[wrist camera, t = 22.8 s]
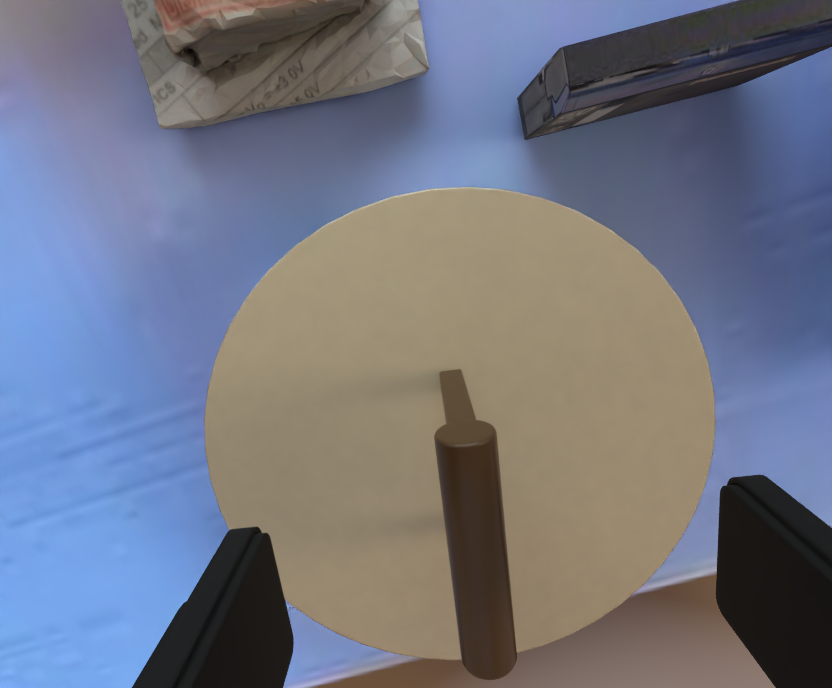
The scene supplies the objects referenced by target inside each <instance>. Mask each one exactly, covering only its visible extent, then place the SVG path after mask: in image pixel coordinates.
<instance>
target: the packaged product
mask: <svg viewBox="0 0 832 688" xmlns="http://www.w3.org/2000/svg"><path fill="white" fill-rule="evenodd" d="M121 2H122V6H123V9H124V12H125V15H126V18H127V21H128V24H129V27H130V31H131V35H132V38H133V42H134V45H135V48H136V50H137V53H138V56H139V59H140V64H141V68H142V72H143V74H144V76H145V79H146V81H147V84H148V87H149V91H150V94H151V97H152V100H153V104H154V108H155V113H156V116H157V120H158V123H159V125H160V127H161V129H184V128H192V127H201V126H209V125H213V124H217V123H221V122H225V121H229V120H233V119H237V118H241V117H245V116H249V115H253V114H257V113H262V112H266V111H270V110H275V109H281V108H286V107H291V106H296V105H302V104H307V103H312V102H317V101H322V100H328V99H333V98H338V97H343V96H348V95H354V94H359V93H364V92H369V91H373V90H376V89H379V88H383V87H386V86H389V85H392V84H396V83H399V82H402V81H405V80H409V79H412V78H415V77H418V76H422V75H425V74H426V72H427V71H428V69H429V64H428V59H427V53H426V47H425V41H424V35H423V30H422V24H421V18H420V11H419V5H418V0H121Z"/></svg>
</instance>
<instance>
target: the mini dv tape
mask: <svg viewBox="0 0 832 688" xmlns="http://www.w3.org/2000/svg"><path fill="white" fill-rule="evenodd" d="M829 47H832V0H738V1H735V2H731V3H727V4H723V5H720V6H716V7H712V8H708V9H704V10H701V11H697V12H693V13H689V14H685V15H682V16H678V17H674V18H670V19H666V20H663V21H659V22H655V23H651V24H648V25H644V26H640V27H636V28H632V29H629V30H625V31H621V32H617V33H613V34H610V35H606V36H602V37H598V38H594V39H591V40H587V41H583V42H579V43H576V44H572V45H568V46H564V47H561V48H560V49H559V50H558V51H557V52H556V53H555V54H554V56H553V57H552V58H551V59H550V60H549V61H548V63H547V64H546V65H545V66H544V67H543V69H542V70H541V71H540V72H539V73H538V74H537V76H536V77H535V78H534V79H533V80H532V81H531V83H530V84H529V85H528V86H527V87H526V89H525V90H524V91H523V92H522V93H521V94H520V96H519V97H518V98H517V99H518V104H519V110H520V116H521V121H522V127H523V133H524V138H525V140H527V139H531V138H535V137H539V136H543V135H547V134H550V133H554V132H558V131H562V130H566V129H570V128H574V127H578V126H582V125H586V124H590V123H594V122H598V121H602V120H605V119H609V118H613V117H617V116H621V115H625V114H629V113H633V112H637V111H641V110H645V109H649V108H653V107H657V106H660V105H664V104H668V103H672V102H676V101H680V100H684V99H688V98H692V97H696V96H700V95H704V94H708V93H712V92H715V91H719V90H723V89H727V88H731V87H735V86H738V85H741V84H743V83H746V82H748V81H750V80H753V79H755V78H758V77H760V76H762V75H765V74H767V73H770V72H772V71H774V70H777V69H779V68H782V67H784V66H786V65H789V64H791V63H794V62H796V61H798V60H801V59H803V58H806V57H808V56H810V55H813V54H815V53H817V52H820V51H822V50H825V49H827V48H829Z"/></svg>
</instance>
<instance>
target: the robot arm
mask: <svg viewBox="0 0 832 688" xmlns="http://www.w3.org/2000/svg"><path fill="white" fill-rule="evenodd" d="M716 599H717V604H718V606H719V609H720V611H721V613H722V615H723V616H724V618H725V619H726V621H727V622H728V623H729V625H730V626H731V627H732V629H733V630H734V631H735V633H736V634H737V636H738V637H739V638H740V640H741V641H742V642H743V644H744V645H745V646H746V648H747V649H748V650H749V652H750V653H751V655H752V656H753V657H754V659H755V660H756V661H757V663H758V664H759V665H760V667H761V668H762V670H763V671H764V672H765V674H766V675H767V676H768V678H769V679H770V680H771V682H772V683H773V685H774V686H775V687H776V688H832V528H831V527H830V526H828V525H827V524H826V523H825V522H823V521H822V520H821V519H819V518H818V517H817V516H816V515H814V514H813V513H812V512H811V511H809V510H808V509H807V508H805V507H804V506H803V505H802V504H800V503H799V502H798V501H797V500H795V499H794V498H793V497H791V496H790V495H789V494H788V493H786V492H785V491H784V490H783V489H781V488H780V487H779V486H778V485H776V484H775V483H774V482H772V481H771V480H770V479H769V478H767V477H766V476H764V475H752V476H743V477H733V478H731V479H729V481H728V484H727V486H723V487H722V488H721V491H720V507H719V531H718V556H717V581H716ZM292 653H293V633H292V629H291V624H290V620H289V616H288V611H287V607H286V603H285V598H284V594H283V590H282V585H281V581H280V577H279V572H278V568H277V564H276V559H275V555H274V551H273V546H272V542H271V538H270V535H269V534H268V533H262V532H261V530H260V528H259V527H257V526H256V527H247V528H237V529H231V530H229V531H228V533H227V534H226V536H225V538H224V539H223V541H222V543H221V544H220V546H219V548H218V549H217V551H216V553H215V555H214V556H213V558H212V560H211V561H210V563H209V565H208V566H207V568H206V570H205V571H204V573H203V575H202V577H201V578H200V580H199V582H198V583H197V585H196V587H195V588H194V590H193V592H192V594H191V595H190V597H189V599H188V600H187V602H185V603H183V605H182V606H181V607H180V609H179V610H178V611H177V613H176V615H175V617H174V618H173V620H172V622H171V623H170V625H169V627H168V628H167V630H166V632H165V633H164V635H163V637H162V638H161V640H160V642H159V643H158V645H157V647H156V648H155V650H154V652H153V653H152V655H151V657H150V658H149V660H148V662H147V663H146V665H145V667H144V668H143V670H142V672H141V673H140V675H139V677H138V678H137V680H136V682H135V683H134V685H133V687H132V688H283V685H284V682H285V678H286V675H287V671H288V668H289V664H290V661H291V657H292Z"/></svg>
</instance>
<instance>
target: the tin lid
mask: <svg viewBox="0 0 832 688" xmlns="http://www.w3.org/2000/svg"><path fill="white" fill-rule="evenodd" d="M204 420H205V451H206V457H207V463H208V469H209V474H210V480H211V484H212V487H213V490H214V493H215V496H216V499H217V502H218V505H219V509H220V511H221V513H222V515H223V517H224V519H225V521H226V524H227V526H228V528H229V530H231V529H237V528H247V527H256V526H257V527H259V528H260V530H261V532H262V533H268V534H269V535H270V538H271V542H272V546H273V551H274V555H275V559H276V564H277V568H278V572H279V577H280V581H281V585H282V590H283V594H284V598H285V600H287V601H288V602H289V603H290V604H291V605H293V606H294V607H296V608H297V609H298V610H300V611H301V612H303V613H304V614H305V615H307V616H308V617H310V618H311V619H312V620H314V621H316V622H318V623H319V624H321V625H323V626H325V627H327V628H328V629H330V630H332V631H334V632H336V633H337V634H339V635H342V636H344V637H347V638H349V639H352V640H354V641H357V642H359V643H361V644H364V645H366V646H370V647H373V648H377V649H381V650H384V651H388V652H391V653H395V654H401V655H407V656H412V657H418V658H426V659H443V660H462V662H463V664H464V666H465V667H466V669H467V670H468V671H469V672H470V673H471V674H472V675H474V676H475V677H478V678H480V679H484V680H495V679H499V678H502V677H504V676H506V675H507V674H508V673H509V672H510V671H511V670H512V669H513V667H514V665H515V663H516V659H517V653H518V652H521V651H525V650H529V649H533V648H536V647H540V646H543V645H545V644H548V643H550V642H553V641H556V640H558V639H561V638H563V637H566V636H568V635H570V634H572V633H574V632H576V631H578V630H580V629H582V628H584V627H586V626H588V625H589V624H592V623H594V622H595V621H597V620H598V619H600V618H601V617H603V616H604V615H606V614H607V613H609V612H610V611H612V610H613V609H615V608H616V607H617V606H619V605H620V604H621V603H623V602H624V601H625V600H626V599H627V598H629V597H630V596H631V595H632V594H633V593H634V592H636V591H637V590H638V589H639V588H640V587H641V586H643V584H644V583H645V582H646V581H647V580H648V579H649V578H650V577H651V576H652V575H653V574H654V573H655V571H656V570H657V569H658V568H659V567H660V566H661V565H662V564H663V563H664V561H665V560H666V558H667V557H668V556H669V554H670V553H671V551H672V550H673V549H674V547H675V546H676V544H677V543H678V542H679V540H680V539H681V537H682V535H683V533H684V531H685V530H686V528H687V526H688V524H689V522H690V520H691V519H692V517H693V515H694V513H695V511H696V508H697V505H698V503H699V500H700V498H701V495H702V492H703V490H704V487H705V485H706V480H707V476H708V472H709V468H710V463H711V459H712V455H713V445H714V434H715V424H716V423H715V403H714V390H713V385H712V380H711V375H710V370H709V365H708V360H707V357H706V355H705V352H704V349H703V346H702V343H701V341H700V338H699V335H698V332H697V330H696V328H695V326H694V324H693V322H692V320H691V318H690V316H689V315H688V313H687V311H686V309H685V307H684V305H683V303H682V301H681V300H680V299H679V297H678V296H677V294H676V293H675V292H674V290H673V289H672V288H671V286H670V285H669V284H668V282H667V281H666V280H665V278H664V277H663V276H662V274H661V273H660V272H659V271H658V270H657V269H656V268H655V267H654V266H653V265H652V264H651V263H650V262H649V261H648V260H647V259H646V258H645V257H644V256H643V255H642V254H641V253H640V252H639V251H638V250H637V249H636V248H634V247H633V246H632V245H630V244H629V243H628V242H626V241H625V240H624V239H622V238H621V237H620V236H618V235H617V234H616V233H614V232H613V231H612V230H610V229H609V228H607V227H606V226H604V225H602V224H600V223H598V222H596V221H595V220H593V219H591V218H589V217H587V216H585V215H584V214H582V213H580V212H578V211H576V210H573V209H571V208H568V207H565V206H563V205H560V204H557V203H555V202H552V201H549V200H546V199H544V198H541V197H536V196H531V195H527V194H522V193H518V192H513V191H509V190H502V189H489V188H476V187H457V188H440V189H428V190H423V191H418V192H413V193H408V194H403V195H398V196H393V197H390V198H387V199H384V200H381V201H378V202H375V203H372V204H370V205H367V206H364V207H361V208H358V209H356V210H354V211H352V212H350V213H348V214H346V215H344V216H342V217H340V218H338V219H336V220H334V221H332V222H330V223H328V224H326V225H324V226H323V227H321V228H320V229H319V230H317V231H316V232H314V233H313V234H311V235H310V236H309V237H307V238H306V239H304V240H303V241H301V242H300V243H298V244H297V245H296V246H294V247H293V248H292V249H291V250H290V251H289V252H288V253H287V254H286V255H285V256H283V257H282V258H281V259H280V260H279V261H278V262H277V263H276V264H275V265H274V266H273V267H272V268H270V269H269V270H268V272H267V273H266V274H265V275H264V276H263V278H262V279H261V280H260V281H259V283H258V284H257V285H256V286H255V287H254V289H253V290H252V291H251V292H250V294H249V295H248V296H247V297H246V299H245V301H244V302H243V304H242V306H241V307H240V309H239V311H238V312H237V314H236V316H235V317H234V319H233V321H232V322H231V324H230V325H229V328H228V330H227V332H226V335H225V337H224V339H223V342H222V344H221V346H220V349H219V351H218V354H217V356H216V359H215V363H214V367H213V371H212V375H211V378H210V382H209V386H208V393H207V401H206V410H205V419H204Z"/></svg>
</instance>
